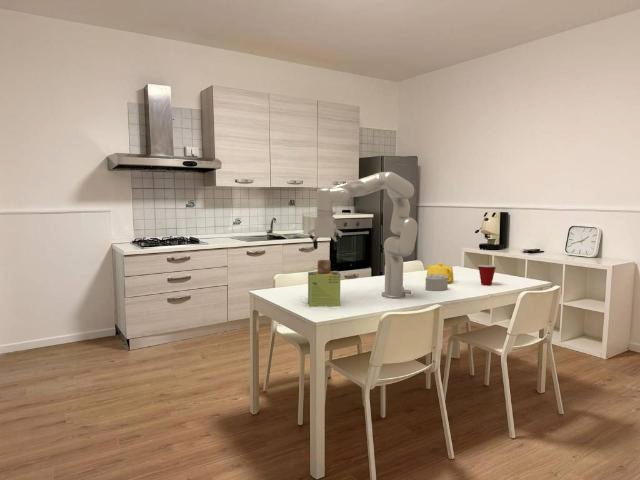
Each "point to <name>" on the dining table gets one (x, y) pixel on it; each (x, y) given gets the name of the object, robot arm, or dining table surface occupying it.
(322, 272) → the walnut block
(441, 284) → the lumpy-topped squat cylinder
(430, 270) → the teapot
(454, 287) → the dining table surface
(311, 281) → the protein box
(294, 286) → the dining table surface
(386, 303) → the dining table surface
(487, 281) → the plastic cup
